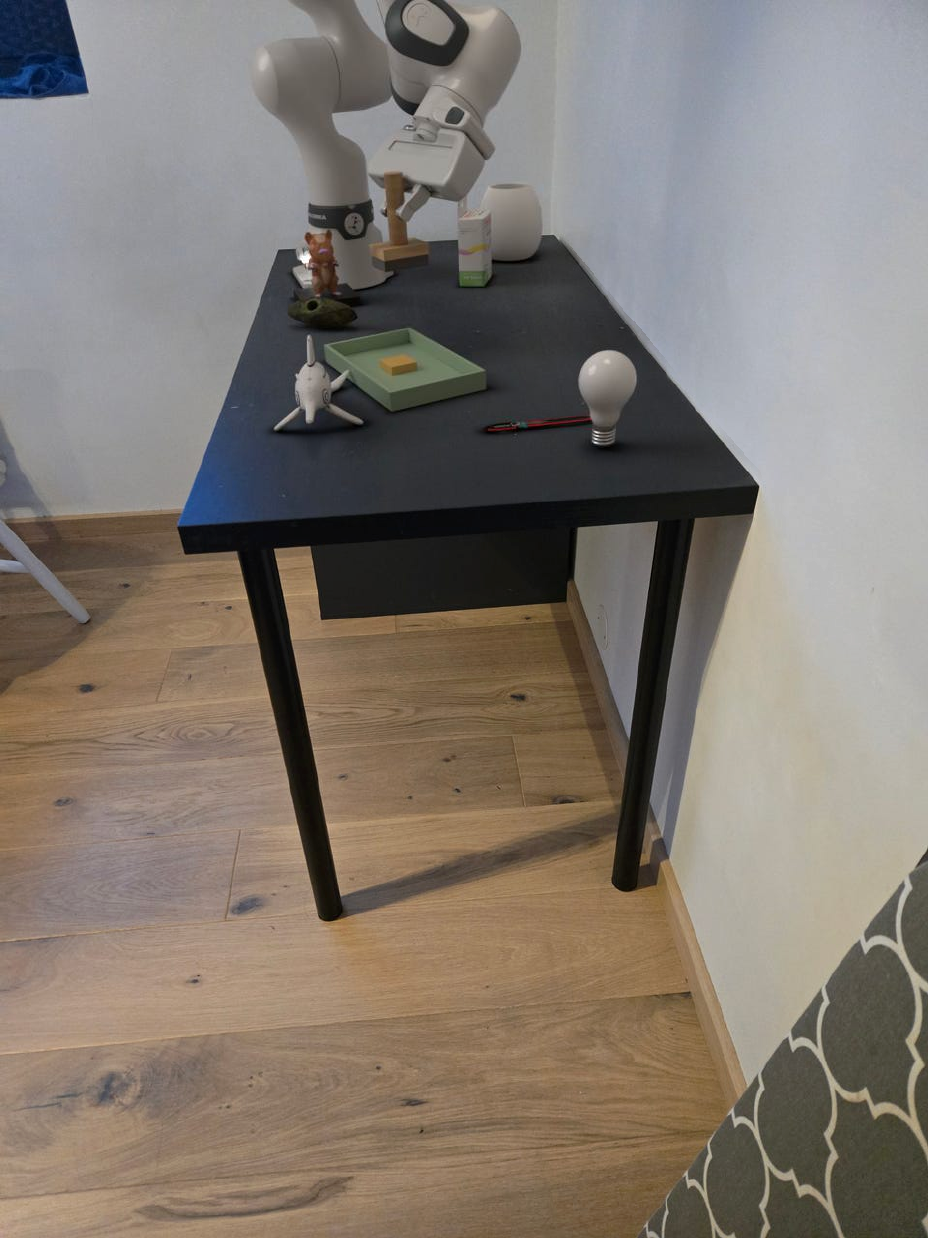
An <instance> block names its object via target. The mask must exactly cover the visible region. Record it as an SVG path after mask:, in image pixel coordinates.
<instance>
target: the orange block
mask: <svg viewBox="0 0 928 1238" xmlns="http://www.w3.org/2000/svg"><path fill="white" fill-rule="evenodd" d="M380 366H381V368H382V369H384V370H385V371H386V372H388V373H389V374H391V375H397V374H401V373H406V372H410V371H414V370H417V362H416V361H415V360H413V359H411V358H410V357H408V356H407V355H405V354H403V355H399V356H394V357H389V358H385V359H380Z"/></svg>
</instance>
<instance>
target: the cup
mask: <svg viewBox="0 0 928 1238" xmlns="http://www.w3.org/2000/svg"><path fill="white" fill-rule="evenodd" d="M534 189H535V188H534V187H533V185H532V184H530V183H527V182H520V181H519V182H518V181H516V182H515V181H513V182H512V181H510V182H498V183H493V184H489V186H487V187H486V190H485V192H484V195H483V196H482V199H481V202H480V204H479V209H478V210H491V260H494V261H501V262H517V261H522V260H526V259H530V258H531V257H533V255H535V254H536V252H537V251H538V249H539V248H540V247H539V246H540V244H541V241H542V238H543V215H542V214H543V213H542V206H541V203H540V201H539V197H538V195H537V193H536V191H535V190H534Z"/></svg>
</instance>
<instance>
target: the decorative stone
mask: <svg viewBox="0 0 928 1238" xmlns="http://www.w3.org/2000/svg"><path fill="white" fill-rule="evenodd" d="M287 315H288V317H289V318H291V319H293V320H295V321H297V322H300V323H302V324H305V325H307V326H310V327H312V328H315V329H320V330H322V329H328V328H336V327H340V326H345V325H349V324H351V323H353V322H355V321H357V320H358V319H359V316H358V314H357V313H356V311H355V310H354V309H353V308H352V306H350V307H349V306H348V305H346V304H344V303H341V302H338V301H335V300H332V299H328V298H324V297H319V296H313V297H309V298H306V299H303V300H300V301H294V302H292V303H290V304H289V305H288V306H287Z"/></svg>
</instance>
